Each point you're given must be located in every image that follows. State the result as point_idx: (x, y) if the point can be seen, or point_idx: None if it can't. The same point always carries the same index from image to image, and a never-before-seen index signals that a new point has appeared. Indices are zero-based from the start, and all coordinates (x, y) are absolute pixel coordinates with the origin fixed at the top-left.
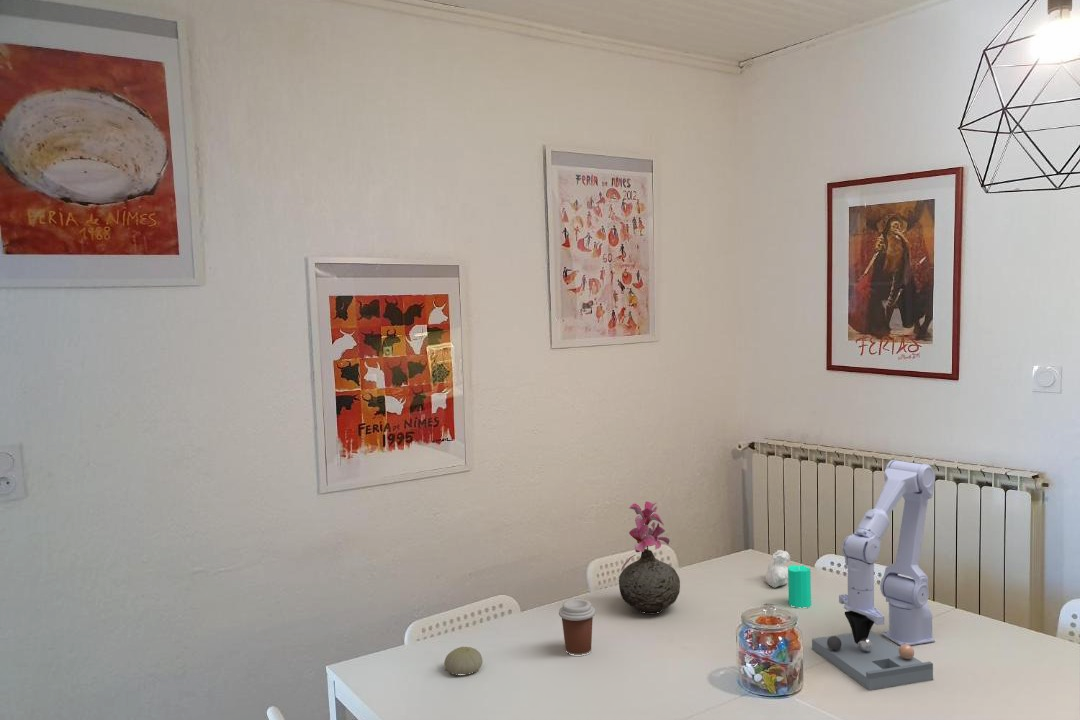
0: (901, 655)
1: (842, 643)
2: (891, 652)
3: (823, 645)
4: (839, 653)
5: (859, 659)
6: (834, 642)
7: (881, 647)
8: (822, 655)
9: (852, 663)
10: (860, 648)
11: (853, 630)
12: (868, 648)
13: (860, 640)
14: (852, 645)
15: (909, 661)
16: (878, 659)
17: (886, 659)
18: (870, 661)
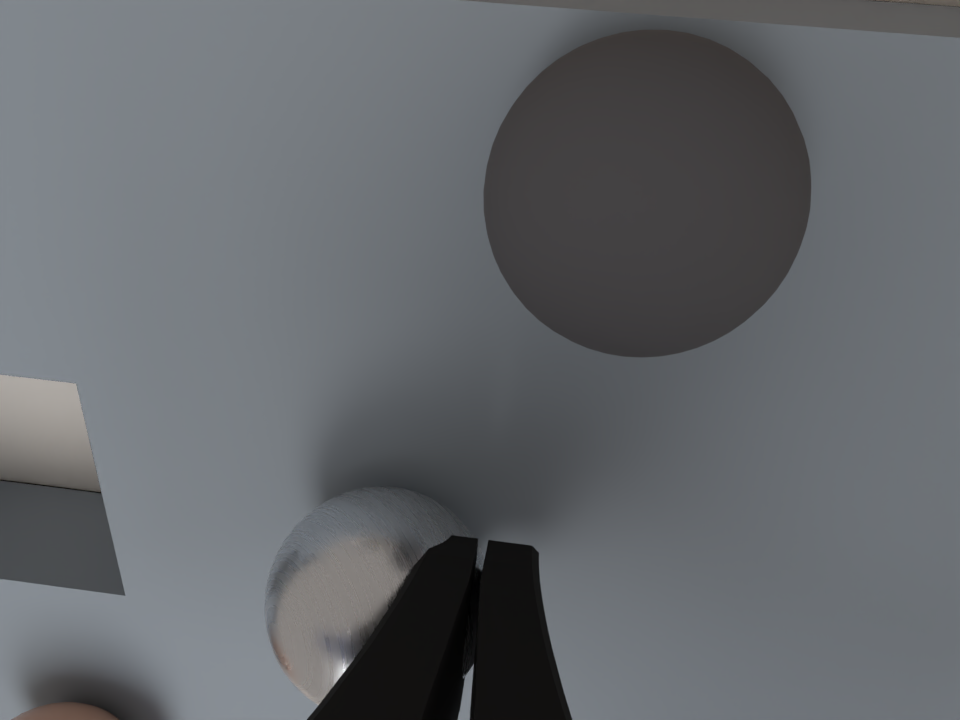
0: (42, 715)
1: (772, 436)
2: (273, 710)
3: (918, 82)
4: (462, 133)
5: (156, 279)
6: (527, 143)
7: None
8: (855, 2)
9: (26, 70)
10: (372, 491)
11: (488, 714)
12: (274, 559)
13: (367, 601)
14: (633, 507)
15: (24, 697)
16: (115, 492)
17: (126, 568)
18: (69, 370)
